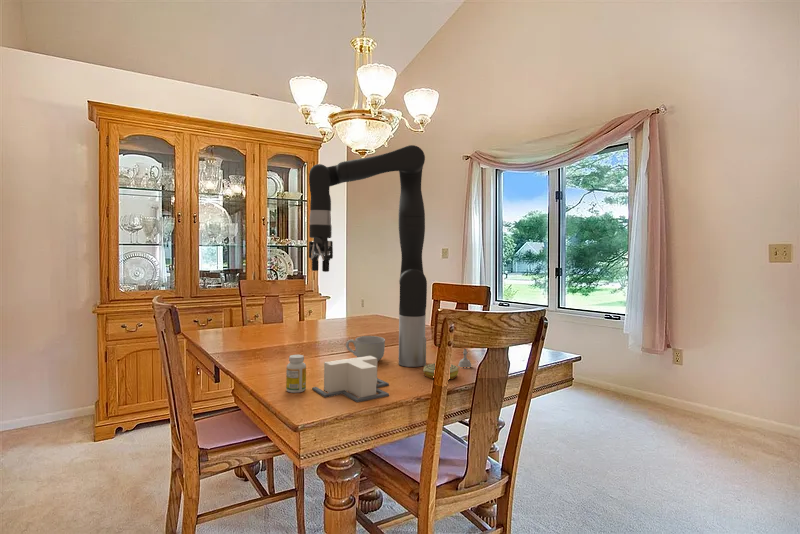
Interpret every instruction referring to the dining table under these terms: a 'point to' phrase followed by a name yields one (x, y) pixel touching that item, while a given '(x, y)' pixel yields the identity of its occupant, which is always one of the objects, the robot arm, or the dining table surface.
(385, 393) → the t outline
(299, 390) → the supplement bottle
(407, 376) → the dining table surface
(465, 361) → the grey tall turned piece
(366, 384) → the t block
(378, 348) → the teacup
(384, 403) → the dining table surface
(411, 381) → the dining table surface
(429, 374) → the decorated donut
